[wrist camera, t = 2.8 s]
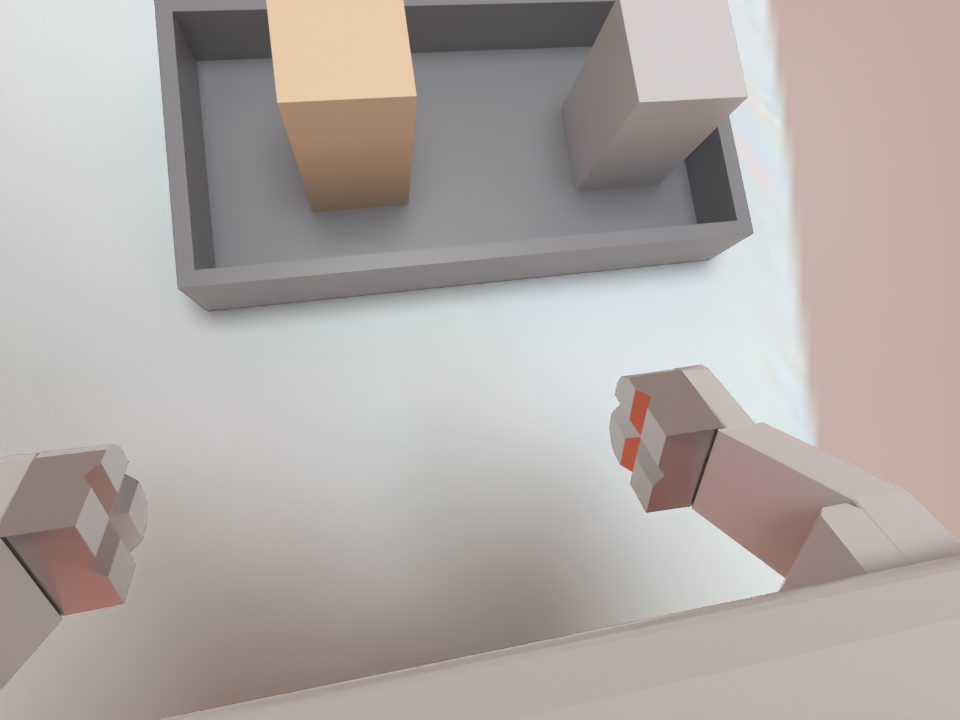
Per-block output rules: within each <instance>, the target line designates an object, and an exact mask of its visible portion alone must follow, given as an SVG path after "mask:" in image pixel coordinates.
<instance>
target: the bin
mask: <svg viewBox="0 0 960 720" xmlns="http://www.w3.org/2000/svg"><path fill="white" fill-rule="evenodd" d="M403 1H404V9H405V16H406V23H407V30H408V37H409V44H410V51H411V59H412V66H413V73H414V80H415V87H416V94H417V99H416V112H415V125H414V139H413V152H412V165H411V178H410V191H409V204H406V205H393V206H380V207H368V208H355V209H342V210H329V211H317V212H312V209H311V206H310V203H309V200H308V197H307V193H306V190H305V187H304V184H303V181H302V178H301V175H300V172H299V169H298V166H297V162H296V159H295V156H294V153H293V150H292V147H291V144H290V141H289V138H288V135H287V132H286V128H285V125H284V122H283V119H282V116H281V113H280V110H279V107H278V104H277V96H276V87H275V78H274V68H273V59H272V50H271V41H270V31H269V22H268V13H267V4H266V0H154V4H155V16H156V29H157V41H158V53H159V65H160V77H161V90H162V102H163V114H164V126H165V139H166V151H167V163H168V175H169V187H170V200H171V212H172V224H173V236H174V249H175V261H176V273H177V285H178V289H179V290H181V291H182V292H183V293H185V294H186V295H187V296H189V297H190V298H191V299H192V300H194V301H195V302H196V303H198V304H199V305H200V306H202V307H203V308H204V309H205V310H207V311H213V310H223V309H233V308H243V307H253V306H262V305H272V304H282V303H292V302H302V301H311V300H321V299H331V298H341V297H350V296H360V295H370V294H380V293H390V292H399V291H409V290H419V289H429V288H439V287H448V286H458V285H468V284H478V283H487V282H497V281H507V280H517V279H527V278H536V277H546V276H556V275H566V274H576V273H585V272H595V271H605V270H615V269H624V268H634V267H644V266H654V265H664V264H673V263H683V262H693V261H703V260H710V259H711V258H713V257H715V256H716V255H718V254H720V253H721V252H723V251H725V250H726V249H728V248H730V247H731V246H733V245H735V244H736V243H738V242H740V241H741V240H743V239H745V238H746V237H748V236H750V235H752V234H753V228H752V224H751V219H750V214H749V209H748V204H747V200H746V195H745V190H744V185H743V181H742V176H741V171H740V166H739V162H738V157H737V152H736V147H735V143H734V138H733V133H732V128H731V124H730V119H729V116H728V117H727V118H726V119H725V120H724V121H723V122H722V123H721V124H720V125H719V126H718V127H717V128H716V129H715V130H714V131H713V132H712V133H711V134H710V135H709V136H708V137H707V138H706V139H705V140H704V141H703V142H702V143H701V144H700V145H699V146H698V147H697V148H696V149H694V150H693V151H692V152H691V153H690V154H689V155H688V156H687V157H686V158H685V159H684V160H683V161H682V162H681V163H680V164H679V165H678V166H677V167H676V168H675V169H674V170H673V171H672V172H671V173H670V174H669V175H668V176H667V177H666V178H665V179H664V180H663V181H662V182H661V183H660V184H659V185H648V186H635V187H623V188H610V189H597V190H584V191H576V189H575V183H574V178H573V172H572V166H571V160H570V154H569V149H568V143H567V137H566V131H565V125H564V120H563V114H562V106H563V104H564V102H565V100H566V98H567V96H568V94H569V92H570V90H571V88H572V86H573V84H574V82H575V80H576V78H577V76H578V74H579V72H580V70H581V68H582V66H583V64H584V62H585V60H586V58H587V56H588V54H589V52H590V50H591V48H592V46H593V44H594V42H595V40H596V38H597V36H598V34H599V32H600V30H601V28H602V26H603V24H604V22H605V20H606V18H607V17H608V15H609V13H610V11H611V9H612V7H613V5H614V3H615V1H616V0H403Z"/></svg>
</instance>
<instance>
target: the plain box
mask: <svg viewBox="0 0 960 720" xmlns="http://www.w3.org/2000/svg"><path fill="white" fill-rule="evenodd" d="M747 97H748V94H747V90H746V85H745V80H744V76H743V71H742V67H741V62H740V57H739V53H738V48H737V43H736V39H735V34H734V29H733V25H732V20H731V16H730V11H729V6H728V2H727V0H616V1H615V3H614V5H613V7H612V9H611V11H610V13H609V15H608V17H607V18H606V20H605V22H604V24H603V26H602V28H601V30H600V32H599V34H598V36H597V38H596V40H595V42H594V44H593V46H592V48H591V50H590V52H589V54H588V56H587V58H586V60H585V62H584V64H583V66H582V68H581V70H580V72H579V74H578V76H577V78H576V80H575V82H574V84H573V86H572V88H571V90H570V92H569V94H568V96H567V98H566V100H565V102H564V104H563V106H562V114H563V120H564V125H565V131H566V137H567V143H568V149H569V154H570V160H571V166H572V172H573V178H574V183H575V189H576V191H584V190H597V189H610V188H623V187H635V186H648V185H659V184H660V183H661V182H662V181H663V180H664V179H665V178H666V177H667V176H668V175H669V174H670V173H671V172H672V171H673V170H674V169H675V168H676V167H677V166H678V165H679V164H680V163H681V162H682V161H683V160H684V159H685V158H686V157H687V156H688V155H689V154H690V153H691V152H692V151H693V150H694V149H696V148H697V147H698V146H699V145H700V144H701V143H702V142H703V141H704V140H705V139H706V138H707V137H708V136H709V135H710V134H711V133H712V132H713V131H714V130H715V129H716V128H717V127H718V126H719V125H720V124H721V123H722V122H723V121H724V120H725V119H726V118H727V117H728V116H729V115H730V114H731V113H732V112H733V111H734V110H735V109H736V108H737V107H738V106H739V105H740V104H741V103H742V102H743V101H744V100H745V99H746V98H747Z"/></svg>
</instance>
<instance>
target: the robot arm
mask: <svg viewBox="0 0 960 720" xmlns="http://www.w3.org/2000/svg"><path fill="white" fill-rule="evenodd" d="M615 396H616V397H617V399H618V401H619V402H620V405H619V406H618V407H617V408H616V409H615V410H614V411H613V412H612V414H611V420H610V427H609V429H610V438H611V444H612V447H613V450H614V453H615V455H616V457H617V459H618V461H619V463H620V465H622V466H624V467H625V468H627V469H628V470H630V471H632V472H633V473H632V477H631V482H630V484H631V486H632V488H633V489H634V491H635V493H636V495H637V497H638V499H639V500H640V502H641V504H642V506H643V508H644V510H645V512H646V513H648V512H654V511H661V510H668V509H675V508H682V507H689V506H693V507H692V509H694V510H695V511H696V512H698V513H699V514H700V515H702V516H703V517H704V518H706V519H707V520H708V521H710V522H711V523H712V524H714V525H715V526H716V527H718V528H719V529H720V530H722V531H723V532H724V533H726V534H727V535H728V536H730V537H731V538H732V539H734V540H735V541H736V542H738V543H739V544H740V545H742V546H743V547H744V548H746V549H747V550H748V551H750V552H751V553H752V554H754V555H755V556H757V557H758V558H759V559H761V560H762V561H763V562H765V563H766V564H767V565H769V566H770V567H771V568H773V569H774V570H775V571H777V572H778V573H779V574H781V575H782V576H783V577H785V580H784V582H783V583H782V585H781V587H780V589H779V591H778V592H775V593H770V594H766V595H761V596H756V597H751V598H746V599H741V600H736V601H732V602H727V603H722V604H717V605H712V606H707V607H702V608H697V609H693V610H688V611H683V612H678V613H673V614H668V615H663V616H659V617H654V618H649V619H644V620H639V621H634V622H630V623H625V624H620V625H615V626H610V627H605V628H600V629H596V630H591V631H586V632H581V633H576V634H571V635H567V636H562V637H557V638H552V639H547V640H542V641H537V642H533V643H528V644H523V645H518V646H513V647H508V648H504V649H499V650H494V651H489V652H484V653H479V654H474V655H470V656H465V657H460V658H455V659H450V660H445V661H441V662H436V663H431V664H426V665H421V666H416V667H411V668H406V669H402V670H397V671H392V672H387V673H382V674H377V675H372V676H368V677H363V678H358V679H353V680H348V681H343V682H338V683H334V684H329V685H324V686H319V687H314V688H309V689H304V690H299V691H295V692H290V693H285V694H280V695H275V696H270V697H265V698H261V699H256V700H251V701H246V702H241V703H236V704H231V705H226V706H222V707H217V708H212V709H207V710H202V711H197V712H192V713H188V714H183V715H178V716H173V717H168V718H163V719H158V720H960V543H959V542H958V541H957V540H956V539H955V538H954V537H953V536H952V535H951V534H950V533H949V532H948V531H947V530H946V529H945V528H944V527H943V526H942V525H941V524H940V523H939V522H938V521H937V520H936V519H935V518H934V517H933V516H932V515H931V514H930V513H929V512H928V511H927V510H926V509H925V508H924V507H923V506H922V505H921V504H920V503H919V502H918V501H917V500H916V499H915V498H914V497H913V496H912V495H911V494H910V493H909V492H908V491H907V490H905V489H903V488H900V487H898V486H896V485H894V484H892V483H890V482H888V481H886V480H884V479H881V478H879V477H877V476H875V475H873V474H871V473H869V472H866V471H865V470H862V469H860V468H858V467H856V466H854V465H851V464H850V463H848V462H845V461H843V460H841V459H839V458H837V457H835V456H833V455H831V454H829V453H826V452H824V451H822V450H820V449H818V448H816V447H814V446H812V445H809V444H807V443H805V442H803V441H801V440H799V439H797V438H795V437H793V436H790V435H788V434H786V433H784V432H782V431H780V430H778V429H776V428H773V427H771V426H769V425H767V424H765V423H758V424H755V423H754V422H753V421H752V419H751V418H750V417H749V416H748V415H747V414H746V412H745V411H744V410H743V409H742V408H741V406H740V405H739V404H738V403H737V402H736V401H735V399H734V398H733V397H732V396H731V395H730V393H729V392H728V391H727V390H726V389H725V388H724V386H723V385H722V384H721V383H720V382H719V380H718V379H717V378H716V377H715V376H714V375H713V373H712V372H711V371H710V370H709V369H708V368H707V367H705V366H703V365H695V366H689V367H682V368H676V369H674V370H665V371H658V372H651V373H644V374H637V375H629V376H622V377H621V378H620V379H619V381H618V383H617V386H616V391H615ZM128 462H129V461H128V459H127V458H126V456H125V454H124V452H123V450H122V449H121V447H120V446H117V445H114V444H110V445H101V446H92V447H83V448H74V449H65V450H56V451H47V452H42V453H35V454H26V455H17V456H8V457H4V458H3V459H1V460H0V690H1V689H2V688H3V687H4V686H5V685H6V683H7V682H8V681H9V680H10V679H11V678H12V677H13V675H14V674H15V673H16V672H17V671H18V670H19V668H20V667H21V666H22V665H23V664H24V663H25V662H26V660H27V659H28V658H29V657H30V656H31V655H32V653H33V652H34V651H35V650H36V649H37V648H38V647H39V645H40V644H41V643H42V642H43V641H44V640H45V639H46V637H47V636H48V635H49V634H50V633H51V632H52V630H53V629H54V628H55V627H56V626H57V625H58V624H59V622H60V621H61V620H62V617H61V616H64V615H69V614H74V613H79V612H84V611H89V610H94V609H99V608H104V607H109V606H114V605H119V604H124V603H125V600H126V596H127V593H128V589H129V586H130V582H131V579H132V576H133V572H134V569H135V565H136V564H135V563H134V561H133V559H132V557H131V555H130V554H129V553H130V552H131V551H132V550H133V549H134V548H135V547H136V546H137V545H138V544H139V543H140V542H141V541H142V540H143V537H144V533H145V529H146V525H147V504H146V499H145V495H144V492H143V490H142V487H141V485H140V483H139V481H137V480H135V479H133V478H131V477H130V476H128V475H126V474H125V471H126V468H127V465H128Z"/></svg>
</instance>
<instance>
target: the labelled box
mask: <svg viewBox="0 0 960 720" xmlns="http://www.w3.org/2000/svg"><path fill="white" fill-rule="evenodd" d="M266 4H267V13H268V22H269V31H270V41H271V50H272V59H273V68H274V78H275V87H276V96H277V104H278V107H279V110H280V113H281V116H282V119H283V122H284V125H285V128H286V132H287V135H288V138H289V141H290V144H291V147H292V150H293V153H294V156H295V159H296V162H297V166H298V169H299V172H300V175H301V178H302V181H303V184H304V187H305V190H306V193H307V197H308V200H309V203H310V206H311V209H312V212H317V211H329V210H342V209H355V208H368V207H380V206H393V205H406V204H409V191H410V178H411V165H412V152H413V139H414V125H415V112H416V99H417V94H416V87H415V80H414V73H413V66H412V59H411V51H410V44H409V37H408V30H407V23H406V16H405V9H404V1H403V0H266Z"/></svg>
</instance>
